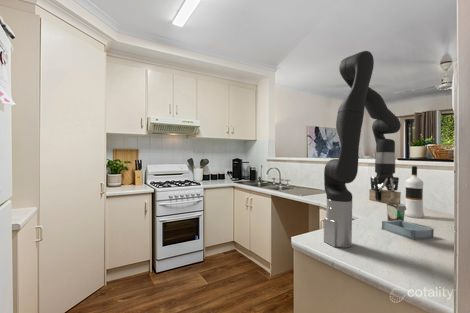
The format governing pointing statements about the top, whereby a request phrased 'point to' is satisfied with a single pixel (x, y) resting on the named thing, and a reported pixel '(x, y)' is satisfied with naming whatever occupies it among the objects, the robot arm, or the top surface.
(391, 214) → the food container
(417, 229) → the crate
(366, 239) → the top surface
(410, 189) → the vodka
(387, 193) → the small crate
